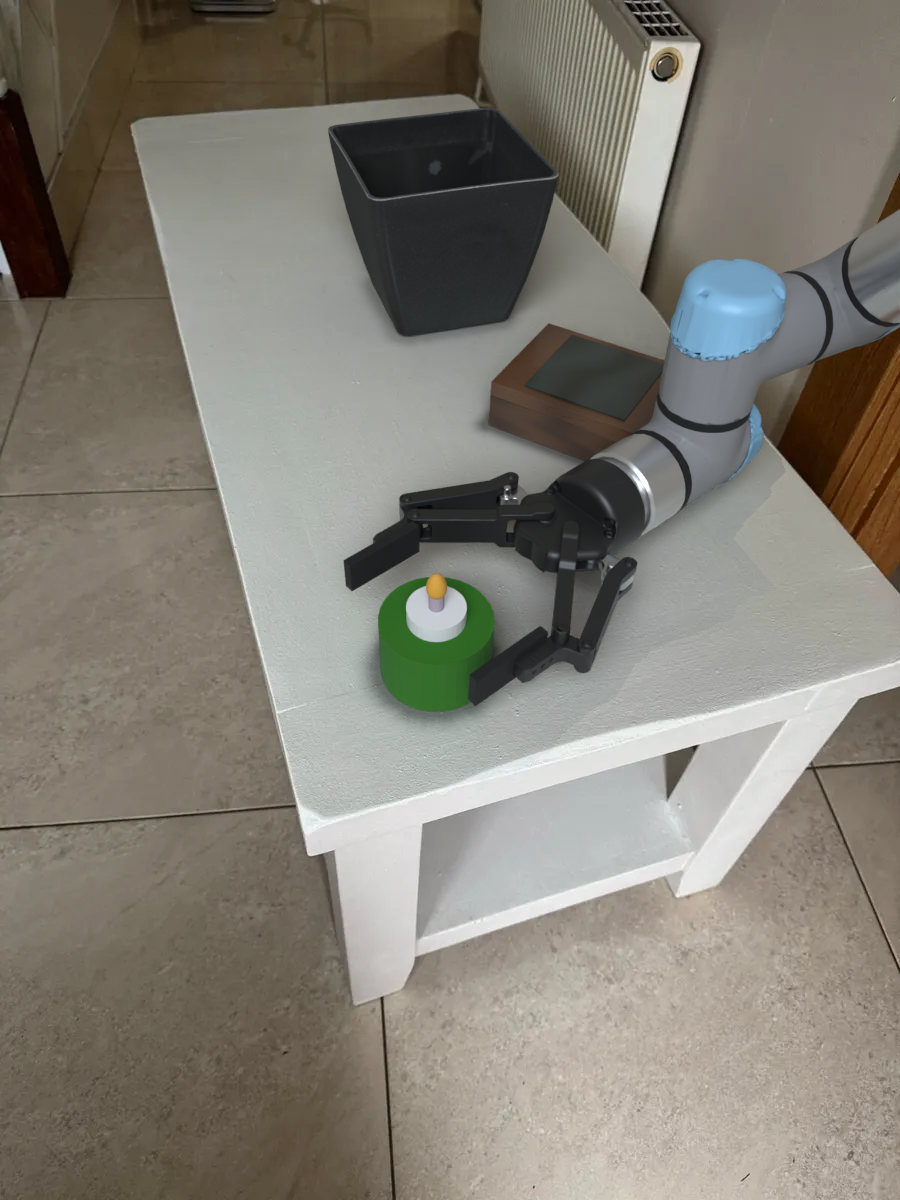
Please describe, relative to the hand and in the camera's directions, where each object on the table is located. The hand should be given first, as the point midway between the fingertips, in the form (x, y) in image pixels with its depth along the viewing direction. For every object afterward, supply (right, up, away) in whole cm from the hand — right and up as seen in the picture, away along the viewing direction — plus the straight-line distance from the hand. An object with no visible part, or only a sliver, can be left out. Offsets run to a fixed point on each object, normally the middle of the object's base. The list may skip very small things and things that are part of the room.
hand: (406, 630), depth 64 cm
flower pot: (+2, +36, +41) cm, 54 cm away
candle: (+2, -3, +6) cm, 7 cm away
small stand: (+17, +20, +26) cm, 37 cm away
